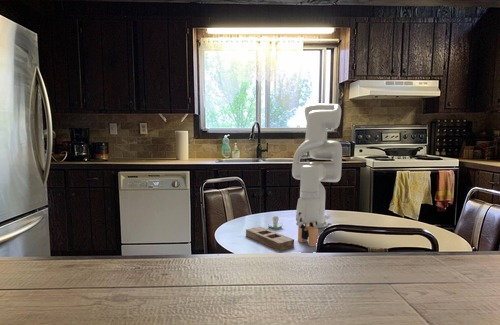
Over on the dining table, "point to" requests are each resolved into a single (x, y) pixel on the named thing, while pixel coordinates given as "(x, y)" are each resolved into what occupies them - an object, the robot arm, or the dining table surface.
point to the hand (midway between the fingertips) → (307, 237)
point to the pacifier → (275, 223)
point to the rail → (270, 238)
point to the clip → (312, 235)
